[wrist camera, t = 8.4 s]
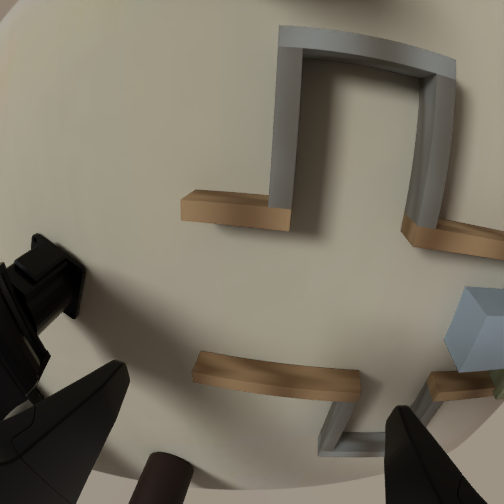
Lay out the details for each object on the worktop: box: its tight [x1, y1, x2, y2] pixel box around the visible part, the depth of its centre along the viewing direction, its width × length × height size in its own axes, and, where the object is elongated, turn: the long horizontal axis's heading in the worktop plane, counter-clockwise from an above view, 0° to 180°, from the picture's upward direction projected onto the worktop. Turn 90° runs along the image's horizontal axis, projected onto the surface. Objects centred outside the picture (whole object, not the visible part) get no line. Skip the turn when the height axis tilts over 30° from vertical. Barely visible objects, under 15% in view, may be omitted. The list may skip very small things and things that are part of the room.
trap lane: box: [181, 25, 504, 457], centre depth 18 cm, size 28×34×4 cm
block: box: [444, 286, 504, 373], centre depth 17 cm, size 6×5×4 cm
